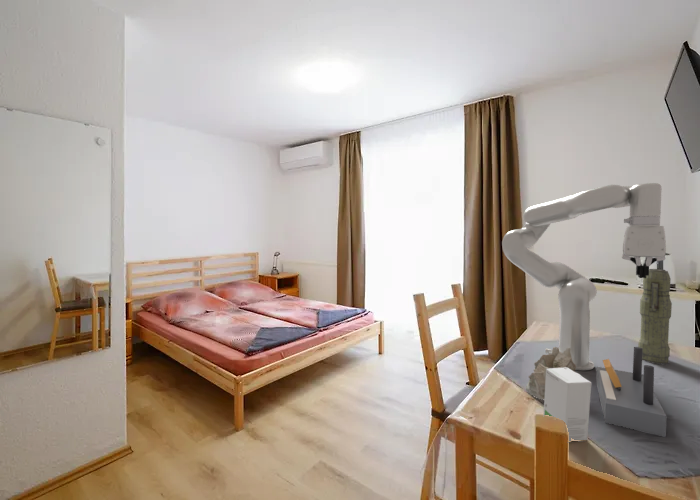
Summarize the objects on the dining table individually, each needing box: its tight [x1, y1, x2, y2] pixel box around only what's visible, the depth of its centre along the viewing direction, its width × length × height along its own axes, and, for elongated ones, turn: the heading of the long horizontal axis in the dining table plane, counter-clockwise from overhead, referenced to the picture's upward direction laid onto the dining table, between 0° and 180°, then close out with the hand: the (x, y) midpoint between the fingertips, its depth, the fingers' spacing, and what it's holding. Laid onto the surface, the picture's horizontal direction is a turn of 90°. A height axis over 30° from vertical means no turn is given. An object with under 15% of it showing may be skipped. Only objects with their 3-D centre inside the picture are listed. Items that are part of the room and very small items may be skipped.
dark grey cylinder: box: [632, 346, 643, 381], centre depth 100 cm, size 2×2×10 cm
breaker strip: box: [595, 366, 668, 438], centre depth 96 cm, size 12×26×6 cm, turn 147°
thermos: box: [637, 268, 673, 365], centre depth 126 cm, size 9×12×35 cm
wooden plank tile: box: [602, 358, 622, 391], centre depth 97 cm, size 2×6×7 cm, turn 145°
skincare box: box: [543, 367, 592, 441], centre depth 84 cm, size 8×7×16 cm
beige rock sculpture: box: [525, 346, 576, 400], centre depth 107 cm, size 16×16×15 cm
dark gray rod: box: [643, 364, 655, 405], centre depth 87 cm, size 2×2×10 cm
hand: (642, 277), depth 109 cm, fingers closed
